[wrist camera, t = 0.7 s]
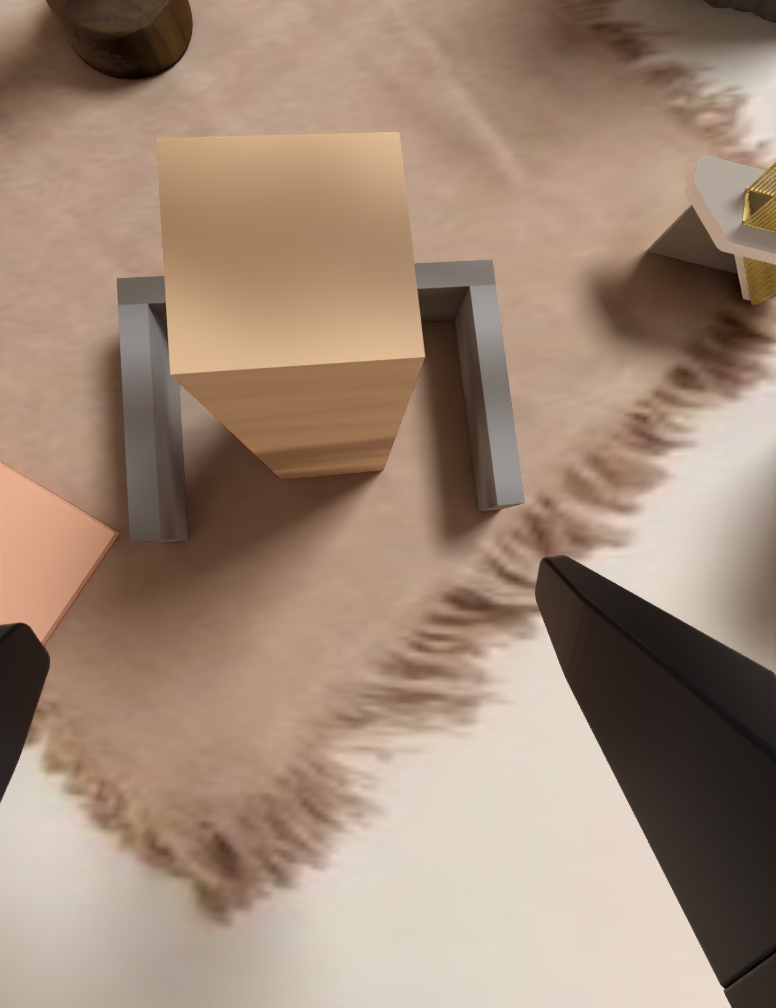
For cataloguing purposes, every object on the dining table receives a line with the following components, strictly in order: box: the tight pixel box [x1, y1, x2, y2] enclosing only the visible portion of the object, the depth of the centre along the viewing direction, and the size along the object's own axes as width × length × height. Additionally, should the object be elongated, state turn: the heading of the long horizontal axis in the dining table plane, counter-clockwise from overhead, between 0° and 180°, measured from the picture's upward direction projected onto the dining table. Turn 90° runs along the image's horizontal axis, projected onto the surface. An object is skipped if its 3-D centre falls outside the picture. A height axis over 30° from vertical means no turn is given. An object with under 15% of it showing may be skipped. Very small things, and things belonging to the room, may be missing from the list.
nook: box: [117, 260, 525, 543], centre depth 20 cm, size 11×16×3 cm
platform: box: [648, 155, 776, 306], centre depth 22 cm, size 12×18×7 cm, turn 78°
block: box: [156, 132, 425, 479], centre depth 15 cm, size 5×5×13 cm
